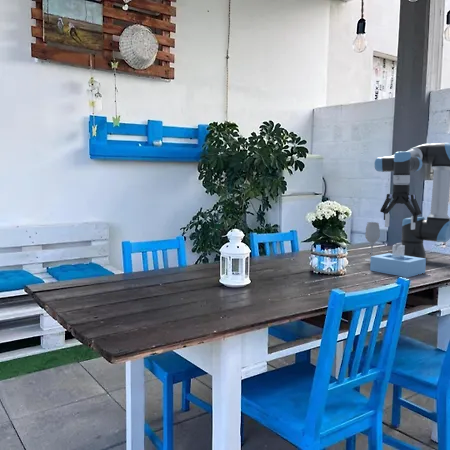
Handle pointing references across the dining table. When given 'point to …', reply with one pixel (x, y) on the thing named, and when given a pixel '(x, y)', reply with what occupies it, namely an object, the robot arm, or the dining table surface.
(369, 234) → the wineglass
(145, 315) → the dining table surface
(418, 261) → the well block
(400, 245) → the light grey tall block
